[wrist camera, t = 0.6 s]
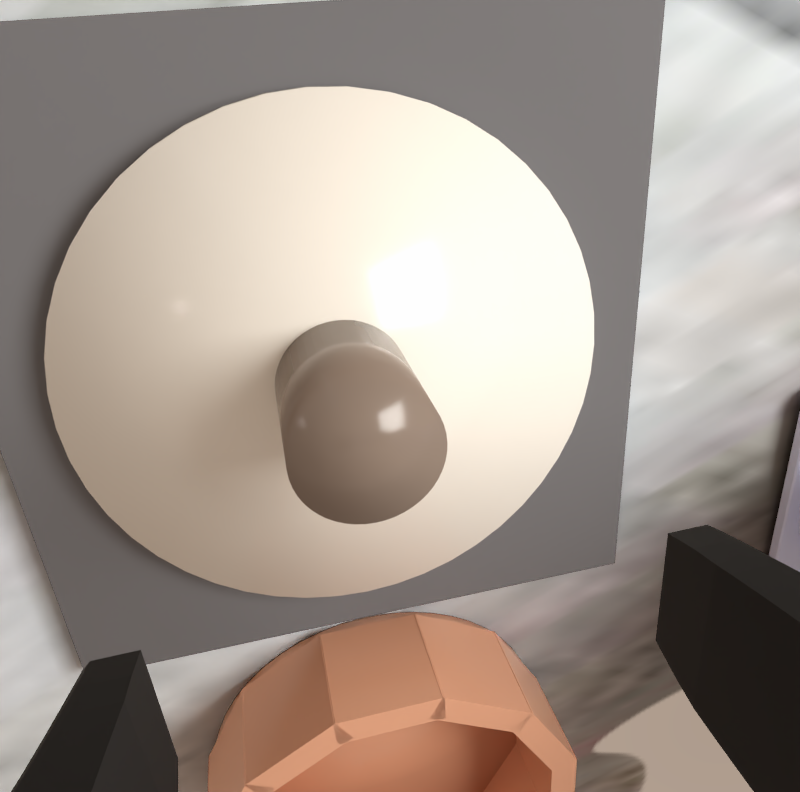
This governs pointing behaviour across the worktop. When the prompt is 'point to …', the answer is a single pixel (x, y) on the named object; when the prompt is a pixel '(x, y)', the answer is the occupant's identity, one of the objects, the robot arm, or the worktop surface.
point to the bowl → (393, 715)
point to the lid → (319, 341)
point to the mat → (285, 69)
